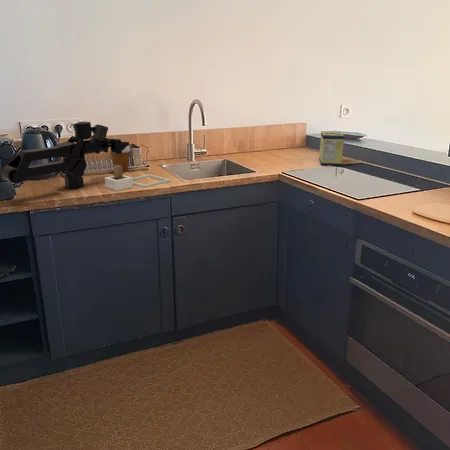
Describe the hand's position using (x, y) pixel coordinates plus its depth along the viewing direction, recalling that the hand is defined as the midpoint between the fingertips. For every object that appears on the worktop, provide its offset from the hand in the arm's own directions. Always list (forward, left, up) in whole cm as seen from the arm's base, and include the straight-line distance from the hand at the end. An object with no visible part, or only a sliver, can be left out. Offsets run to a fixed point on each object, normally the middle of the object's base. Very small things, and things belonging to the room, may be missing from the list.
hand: (122, 142), depth 208 cm
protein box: (+96, -48, -17) cm, 108 cm away
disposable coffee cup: (+7, +12, -17) cm, 22 cm away
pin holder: (-12, -13, -16) cm, 24 cm away
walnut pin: (-12, -13, -15) cm, 24 cm away
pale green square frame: (+2, -14, -16) cm, 22 cm away
